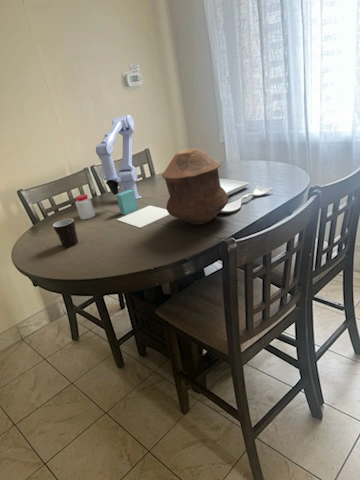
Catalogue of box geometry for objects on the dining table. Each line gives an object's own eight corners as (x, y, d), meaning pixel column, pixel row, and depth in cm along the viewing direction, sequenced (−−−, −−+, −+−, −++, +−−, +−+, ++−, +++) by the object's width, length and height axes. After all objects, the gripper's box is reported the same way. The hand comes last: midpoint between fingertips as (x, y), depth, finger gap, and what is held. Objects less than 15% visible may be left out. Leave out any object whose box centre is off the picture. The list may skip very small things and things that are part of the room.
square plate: (214, 206, 160) (213, 198, 158) (175, 199, 180) (174, 192, 178) (250, 188, 175) (249, 181, 173) (211, 183, 195) (210, 176, 193)
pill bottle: (98, 213, 180) (92, 193, 175) (90, 219, 173) (83, 198, 169) (85, 213, 182) (79, 194, 178) (77, 219, 176) (70, 199, 171)
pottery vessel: (241, 222, 137) (233, 146, 125) (180, 240, 132) (165, 162, 120) (216, 205, 160) (207, 139, 148) (163, 219, 155) (149, 152, 143)
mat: (116, 220, 165) (116, 219, 165) (150, 205, 176) (150, 205, 176) (140, 228, 150) (140, 227, 150) (175, 212, 161) (175, 211, 161)
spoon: (274, 193, 162) (273, 186, 161) (228, 217, 145) (227, 209, 144) (258, 191, 169) (258, 184, 167) (213, 214, 152) (212, 206, 150)
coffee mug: (62, 241, 151) (55, 220, 147) (82, 238, 151) (75, 217, 147) (56, 253, 141) (48, 231, 137) (77, 249, 141) (70, 227, 137)
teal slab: (120, 213, 173) (115, 194, 169) (134, 208, 177) (129, 189, 173) (125, 215, 170) (120, 195, 166) (138, 209, 174) (133, 190, 170)
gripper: (95, 169, 175) (102, 194, 180) (109, 171, 164) (116, 198, 170) (107, 165, 179) (113, 190, 184) (121, 167, 168) (128, 193, 174)
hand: (115, 194), depth 177 cm, fingers closed
